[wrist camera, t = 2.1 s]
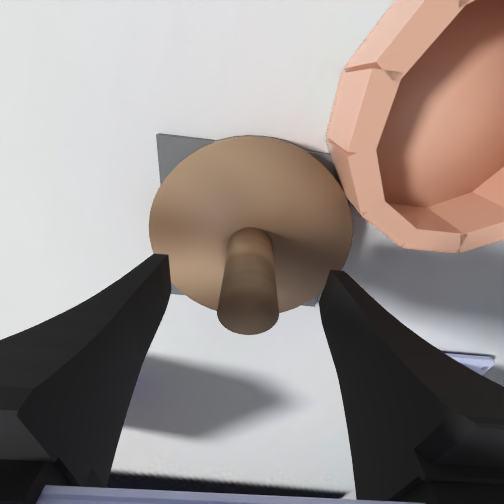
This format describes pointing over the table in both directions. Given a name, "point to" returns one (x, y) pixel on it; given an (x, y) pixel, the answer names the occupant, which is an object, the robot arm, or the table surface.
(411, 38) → the bowl
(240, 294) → the lid
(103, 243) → the table surface
